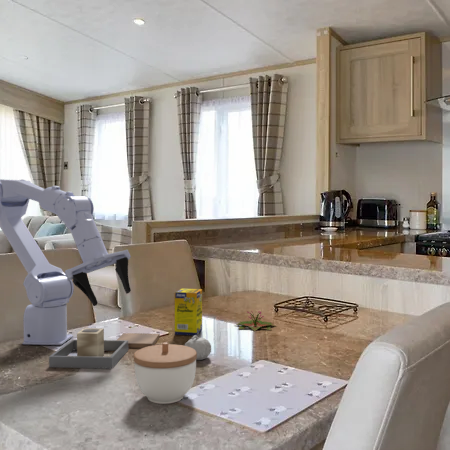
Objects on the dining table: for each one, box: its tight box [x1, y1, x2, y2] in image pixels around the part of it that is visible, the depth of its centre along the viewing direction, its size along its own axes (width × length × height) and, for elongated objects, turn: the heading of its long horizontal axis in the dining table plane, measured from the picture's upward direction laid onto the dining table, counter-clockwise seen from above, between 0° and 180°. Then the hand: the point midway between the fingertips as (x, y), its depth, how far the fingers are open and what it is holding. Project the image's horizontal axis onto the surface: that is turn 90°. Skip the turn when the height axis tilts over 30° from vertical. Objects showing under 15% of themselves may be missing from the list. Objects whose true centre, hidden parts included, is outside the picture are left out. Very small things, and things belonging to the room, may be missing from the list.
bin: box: [48, 339, 129, 369], centre depth 111 cm, size 13×13×2 cm
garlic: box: [183, 334, 212, 361], centre depth 110 cm, size 6×5×5 cm
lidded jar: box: [133, 341, 197, 405], centre depth 88 cm, size 11×11×9 cm
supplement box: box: [173, 288, 203, 337], centre depth 132 cm, size 6×6×11 cm
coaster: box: [116, 332, 160, 349], centre depth 123 cm, size 9×9×1 cm
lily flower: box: [235, 310, 278, 332], centre depth 139 cm, size 12×12×5 cm
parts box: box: [76, 327, 105, 357], centre depth 111 cm, size 4×4×6 cm
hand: (112, 298), depth 113 cm, fingers open, 7 cm apart
